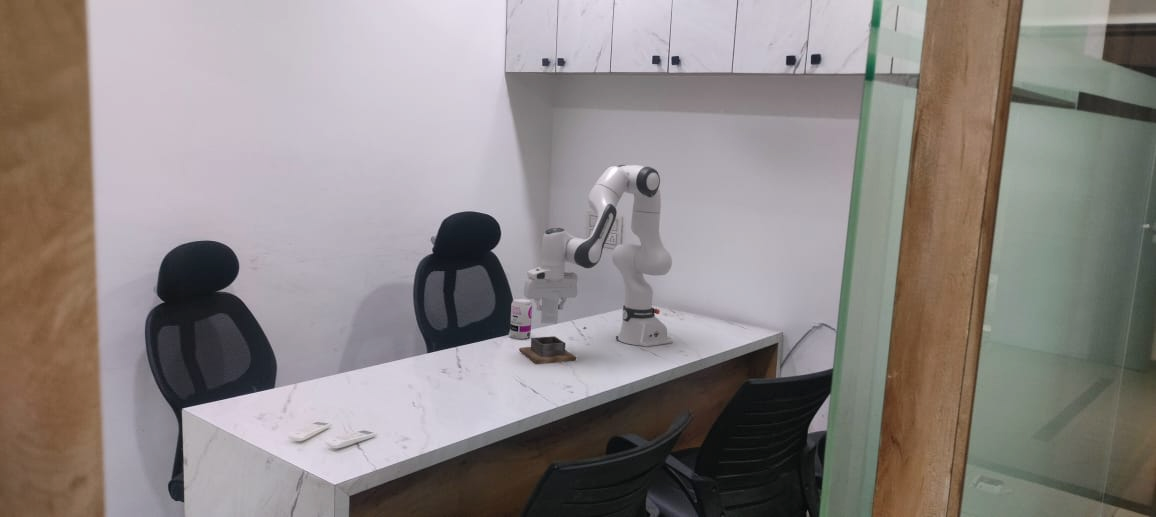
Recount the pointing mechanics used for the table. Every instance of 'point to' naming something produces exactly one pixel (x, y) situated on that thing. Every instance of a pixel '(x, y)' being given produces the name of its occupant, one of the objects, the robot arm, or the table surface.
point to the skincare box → (550, 308)
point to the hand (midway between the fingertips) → (549, 309)
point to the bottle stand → (547, 351)
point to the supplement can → (521, 318)
